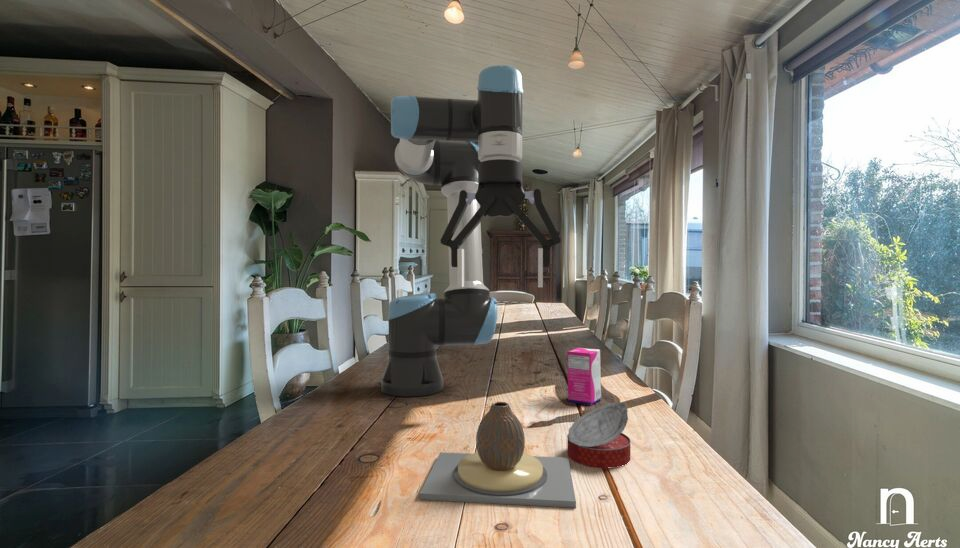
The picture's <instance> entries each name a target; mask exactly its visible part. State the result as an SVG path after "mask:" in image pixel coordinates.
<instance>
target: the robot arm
mask: <svg viewBox="0 0 960 548" xmlns="http://www.w3.org/2000/svg"><path fill="white" fill-rule="evenodd" d="M476 88H477V99H462V98H445V97H444V98H443V97H429V96H415V95H412V94H411V95H397V96H393V97H392V98H391V100H390V134H391V136H392V137H393V138H395V139H399V142H398V143H397V145H396V147H395V150H394V161H395V164H396V167H397V169H398V170H399V171H400V173H402V174H403V175H404V176H406V177H407V178H409V179H410V180H412V181H415V182H416V183H419V184H423V185H429V186H440V191H441V194H442V195H443V196H444V197H446V199H447V201H446V202H447V204H446V205H447V207H446V208H447V226H446V228H445V229H444V231H443V234H442V236H441V238H440V244H441V245H444V246H446V247H448V265H449V266H448V267H449V268H448V271H449V272H448V274H449V286H448V287H447V288H446V289H445V290H444V291H443V298H438V296H437V295H436V293H434V292H426V293H418V294H410V295H404V296H399V297H395V298H393V299H392V300H390V302H389V304H388V312H387V314H388V316H387V320H388V357H387V362H386V365H385V368H384V371H383V372H384V373H383V375H382V377H381V384H380V385H381V388H380V389H381V390H380V391H381V393H382V392H383V394H386V395H389V396H395V397H420V396H421V397H422V396H429V395H433V394H437V393H439V392H441V391H443V390H444V378H443V374H442V372H441V367H440V365H439V362H438V359H437V346H440V347H441V346H475V345H486V344H489V343H490V342H491V341H492V339H493V338H494V335H495V331H496V329H497V328H496V327H497V322H498V301H497V299H496V298H495V297H491V295H490V289H489V288H488V287H487V286H485V284H484V274H483V273H484V271H483V270H484V269H483V251H482V250H483V249H482V248H483V247H482V245H483V244H482V229H481V227H482V225H481V222H482V221H483V220H484V219H485V218H486V217H487V216H488V217H491V219H492V218H499V217H503V218H510V217H513V216H514V215H515V216H516V218H517V219H518V220H519V221H520V222H521V223H522V224H523V226H524V227H525V228H526V229H527V230H528V231H529V232H530V233H531V235H532V237H534V238H535V240H536V241H537V242H538V244H539V245H540V246H541V247H540V248H539V247H538V248H537V250H538V251H537V288H543V285H544V283H543V282H544V274H543V273H544V268H549V267H550V265H551V264H550V262H551V261H550V258H551V256H550V255H551V252H550V250H551V247H554V246H557V245H560V243H561V237H560V235H559V233H558V231H557V230H556V228H555V227H556V226H554V224H553V221H552V219H551V218H550V215H549V214H548V211H547V210H546V207H545V206H544V203H543V201H542V192H541V190H540V189H539V188H534V190H530V191H529V190H528V191H524V187H523V164H522V163H521V161H522V159H523V94H524V89H523V77H522V74H521V72H520V70H518V69H517V68H515V67H514V66H509V65H503V64H502V65H501V64H499V65H492V66H491V65H490V66H488V67H485V68H483V69H482V70H481V71H480V72H479V74H478V81H477V87H476ZM526 199H527V200H528V201H529V203H530V204H532V205H534V207H535V209H536V212H537V214H538V216H539V217H540V219H541V221H542V223H543V225H544V227H545V229H546V231H547V233H548V235H549V237H550V239H547V238H546V236H545V235H544V234H543V233H542V232H541V231H540V230H539V229H538V227H537V226H536V225H535V224H534V223H533V222H532V220H531V219H530V218H529V217H528V216H527V214H526V213H525V212H524V211H523V210H522V208H521V205H522V204H523V203H524V201H525V200H526Z"/></svg>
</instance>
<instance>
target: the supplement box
mask: <svg viewBox="0 0 960 548" xmlns="http://www.w3.org/2000/svg"><path fill="white" fill-rule="evenodd" d="M566 353H567V356H566V357H567V361H566V362H567V399H568V402H570V403H574V404H575V403H576V404H580V403H583V404H582V405H585V404H589V405H588V406H591V405H592V406H593V405H595V404H596V403H598V402H600V401H601V400H602V384H601V383H602V382H601V381H602V379H601V378H602V377H601V376H602V374H601V349H597V348H584V347H576V348H574V349H571V350H570V349H569V350H568V351H567V352H566ZM600 399H601V400H600ZM599 400H600V401H599ZM597 401H598V402H597ZM594 403H595V404H594Z"/></svg>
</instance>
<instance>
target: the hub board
mask: <svg viewBox="0 0 960 548" xmlns="http://www.w3.org/2000/svg"><path fill="white" fill-rule="evenodd" d="M569 459H570V458H569V457H559V456H558V457H556V456H537V455H536V456H535V455H534V456H533V455H531V454H528V453H525V452H523V455H522V458H521V460H520V461H519V462H518V464H517V465H516V466H515V467H513V468H512V469H510V470H506V471H496V470H492V469H489V468H488V467H487V466H486V465H485V464H484V463H483V462H482V461H481V459H480V457H479V455H478V452H477V451H475V452H473V453H465V452H464V453H463V452H461V453H460V452H445V451H443V452H441V451H440V452H439V454H438V456H437V458H436V459H435V462H434V464H433V466H432V468H431V470H430V472H429V473H428V476H427V478H426V480H425V481H424V484H423V486H422V488H421V490H420V492H419V500H422V501H423V500H425V501H444V502H445V501H446V502H464V503H479V504H480V503H481V504H482V503H483V504H498V505H500V504H502V505H518V506H520V505H521V506H537V507H538V506H539V507H555V508H561V507H562V508H571V509H572V508H574V509H575V508H577V500H576V495H575V489H574V483H573V477H572V470H571V466H570V460H569Z"/></svg>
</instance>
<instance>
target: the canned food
mask: <svg viewBox="0 0 960 548" xmlns="http://www.w3.org/2000/svg"><path fill="white" fill-rule="evenodd" d="M628 416H629V415H628V407H627V406H626V404H624V403H622V402H617V401H614V402H611V403H610V402H609V403H605V404H603V405H600V406H598V407H595V408H593V409H591V410H590V411H588V412H586V413H584V414H583V415H581V416H580V417H579V418H577V419H576V420H575V421H574V422H573V423H572V425H571V426H570V427H569V429H568V433H567V435H566V436H567V456H568V457H567V458H568V459H570V460H571V461H573V462H574V463H577V464H579V465H583V466H585V467H589V468H596V469H609V468H608V467H617V466H622V465H624V466H626V465H628V464H629V463H630V462H631V442H632V441H631V438H630V437H629V436H627V435H626V434H625V433H623V432H624V430H625V428H626V426H627V423H628V420H629V417H628ZM629 461H630V462H629ZM628 462H629V463H628ZM627 463H628V464H627ZM625 464H626V465H625ZM622 467H623V466H622ZM617 468H618V467H617Z"/></svg>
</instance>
